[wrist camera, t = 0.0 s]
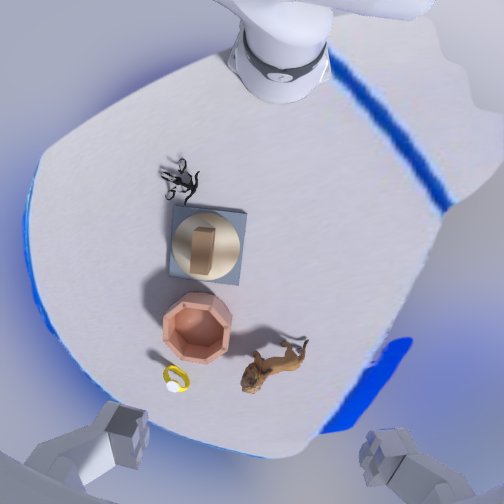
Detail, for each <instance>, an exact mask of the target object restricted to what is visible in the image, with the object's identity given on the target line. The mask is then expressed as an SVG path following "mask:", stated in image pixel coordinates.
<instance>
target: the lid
mask: <svg viewBox="0 0 504 504" xmlns="http://www.w3.org/2000/svg"><path fill="white" fill-rule="evenodd" d="M172 249H173V254H174V258H175V260H176V262H177V264H178V265H179V267H180V268H181V269H182V270H183V271H184V272H185V273H186V274H188V275H190V276H191V277H194V278H196V279H200V280H214V279H218V278H220V277H222V276H224V275H226V274H227V273H228V272H229V271H230V270H231V269H232V268H233V267H234V265H235V264H236V262H237V259H238V256H239V252H240V241H239V237H238V234H237V232H236V230H235V228H234V227H233V225H232V224H231V223H230V222H229V221H228V220H226V219H225V218H223V217H222V216H220V215H217V214H214V213H198V214H195V215H192V216H190V217H188V218H187V219H185V220H184V221H183V222H182V223H181V224H180V225H179V226H178V228H177V230H176V231H175V234H174V237H173V242H172Z"/></svg>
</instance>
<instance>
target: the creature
mask: <svg viewBox="0 0 504 504" xmlns="http://www.w3.org/2000/svg"><path fill="white" fill-rule="evenodd" d="M180 160H182V159H180ZM180 160H179V161H180ZM183 160H185V159H183ZM179 167H180V165H179ZM186 167H187V165H186V160H185V167H184V168H183V170H182V171H181V168H180V170H178V171H179V172H180V174H182V173H184V170H185V169H186ZM162 172H163V171H162ZM199 172H200V171H198V172H197V173H196V175H195V181H196V183H195V185H193V181H192V176H191V175H190V174H188V175H189V176H190V178H191V181H190V183H189V184H186V183H183V182H182V181H181V180H182V179H181V178H180V177H175V178H176V179H175V180H174V181H171V182H173V183H175V184H176V185H182V186H184V187H186V188H187V190H186V191H182V192H184V193H186V192H187V191H189V190H190V189H191V194H190V195H189V196H187V197H186V199H185V203H184V204H185V206H186V202H187V200H188V199H189V198H190V197H191V196H192V195H193V194H194V193H195V192H196V188H197V187H198V178H197V176H198V173H199ZM163 173H165V174H167V175H169V176H171V175H170V173H167V172H163ZM187 173H188V172H187ZM161 177H162V178H163V179H165V180H167V181H170V180H169V178H165V177H163V176H161ZM172 177H173V176H172ZM171 180H173V179H171ZM174 188H176V186H175V187H174ZM174 188H173V189H174ZM170 191H171V192H173V196H172V197H171V198H170V199H167V198H166V199H167V200H171V199H172V198H174V196H175V192H176V190H170ZM168 192H169V191H168ZM165 197H166V194H165Z"/></svg>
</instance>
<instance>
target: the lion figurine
mask: <svg viewBox="0 0 504 504" xmlns="http://www.w3.org/2000/svg"><path fill="white" fill-rule="evenodd" d="M308 341H309V340H306V341H305V342H304V345H303V349H299V350H298V353H299V354H300V355H299V356H298V357H297V355H296V354H295V353H294V352H293V350H292V348H293V347H292V346H291V345H290V344H289V343H287V342H285V341H283V342H282V343H281V345H282V347H287V350H286V352H285V357H271V358H268V359H266V360H264V361H263V360H262V359H261V355H260V354H259V353H258V352H254V353H253V356H254V357H255V360H254V362H253V363H251V364H249V365H248V367H246V369H245V372H244V374H243V376H242V380H241V383H240V384H241V386H242V388H243V389H242V391H243V392H246V393H251V394H255V392H257V391H259V390H260V389H261V388H260V387H261V386H262V384H263V382H264V381H265V380H266V378H267V377H268V376H269V375H272V374H276V373H279V372H281V371H294V370H296V369H298V368H299V367H300V364H301V363H302V362H303V360H304V358H305V348H306V344H307V343H308Z"/></svg>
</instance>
